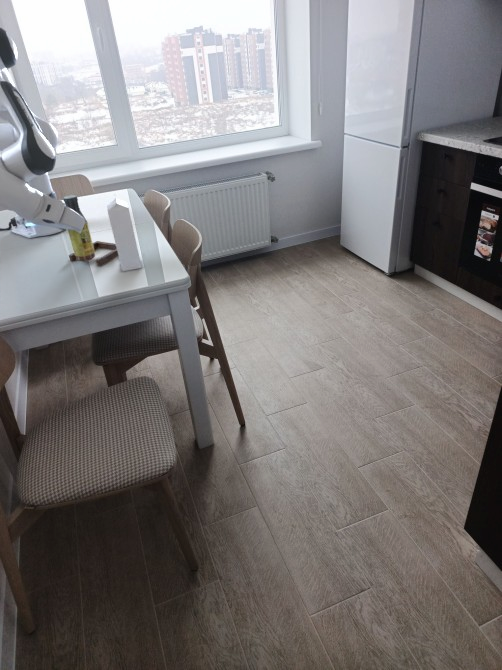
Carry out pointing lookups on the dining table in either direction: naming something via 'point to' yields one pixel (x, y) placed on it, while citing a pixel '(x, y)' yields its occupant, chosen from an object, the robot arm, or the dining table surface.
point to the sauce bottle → (80, 234)
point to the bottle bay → (106, 257)
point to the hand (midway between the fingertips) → (72, 229)
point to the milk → (124, 235)
